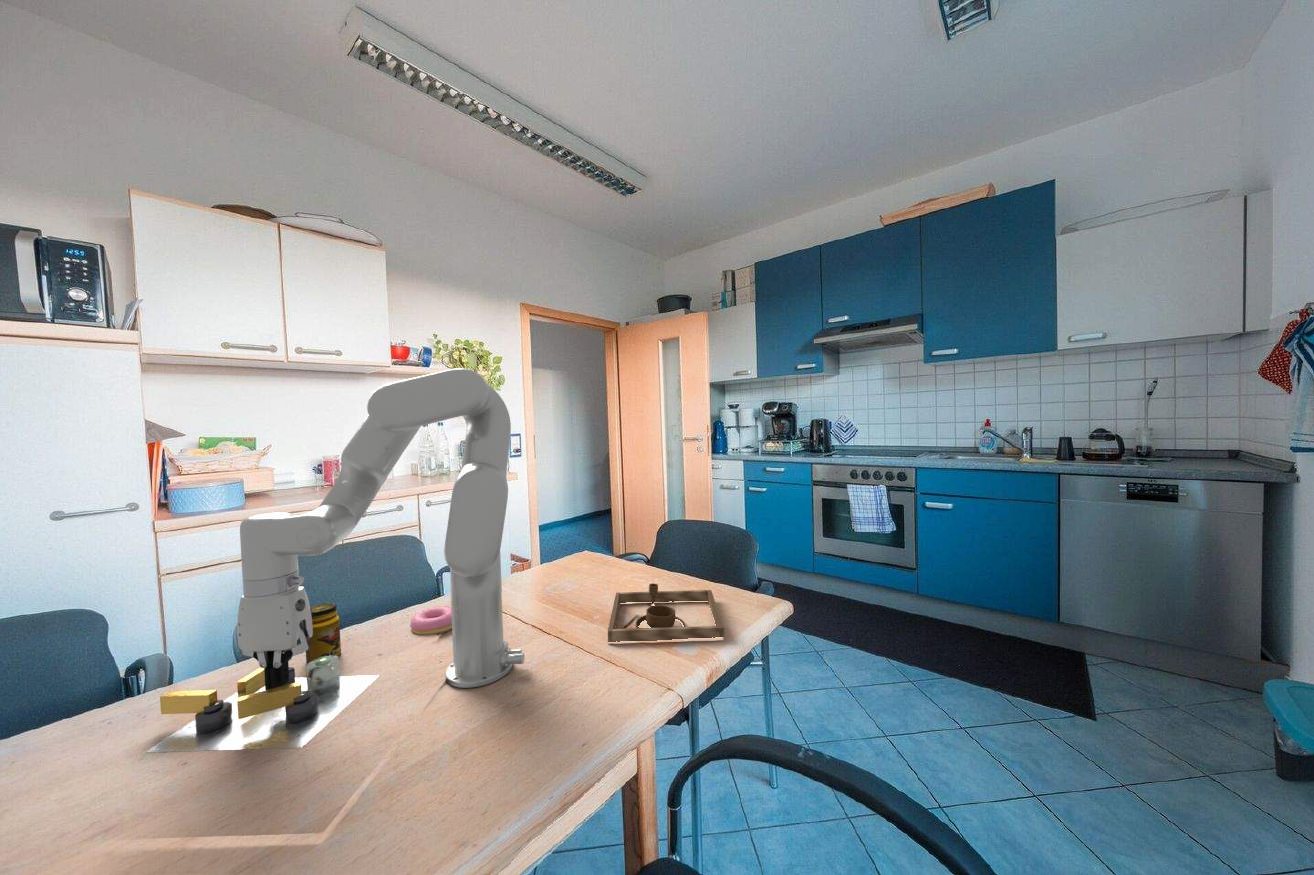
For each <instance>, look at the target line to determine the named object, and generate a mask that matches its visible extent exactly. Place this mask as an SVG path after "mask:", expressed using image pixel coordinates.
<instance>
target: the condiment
mask: <svg viewBox="0 0 1314 875" xmlns="http://www.w3.org/2000/svg"><path fill="white" fill-rule="evenodd" d="M310 610H311V617H312V626H313V635H312V637H311V638H309V639H307V640H306V641H307V644H308V650H306V651H305V662H306V665H307V664H309V663H310V662H312V661H313V660H316V659H318V658H320V657H323V656H338V657H339V658H340V657H342V647H341V645H342V643H341V627H340V625H341V624H340V616H339V615H338V611H337V610H338V609H337V605H336V604H335V603H332V602H327V603H320V604H317V605H316V604H315V605H313V606H312V607H311V606H310Z"/></svg>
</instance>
